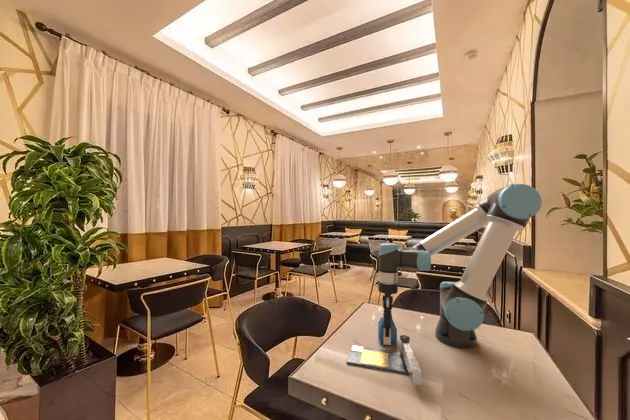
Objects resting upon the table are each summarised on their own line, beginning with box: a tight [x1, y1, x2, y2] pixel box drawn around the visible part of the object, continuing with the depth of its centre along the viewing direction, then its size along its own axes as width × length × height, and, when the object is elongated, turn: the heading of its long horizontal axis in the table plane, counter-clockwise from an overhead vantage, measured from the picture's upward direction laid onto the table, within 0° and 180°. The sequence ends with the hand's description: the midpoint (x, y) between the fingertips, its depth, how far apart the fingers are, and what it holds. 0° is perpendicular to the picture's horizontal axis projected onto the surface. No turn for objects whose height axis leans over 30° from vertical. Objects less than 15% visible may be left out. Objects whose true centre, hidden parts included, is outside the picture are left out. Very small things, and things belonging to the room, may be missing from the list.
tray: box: [346, 344, 409, 376], centre depth 90 cm, size 22×12×2 cm, turn 74°
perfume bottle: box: [377, 310, 398, 347], centre depth 104 cm, size 6×6×12 cm
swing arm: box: [399, 334, 422, 386], centre depth 84 cm, size 20×3×5 cm, turn 171°
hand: (387, 339), depth 104 cm, fingers closed on perfume bottle, 7 cm apart
